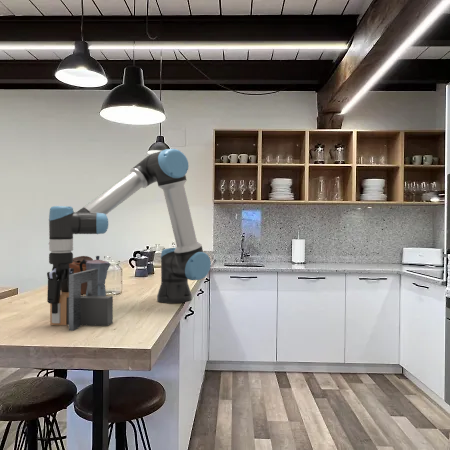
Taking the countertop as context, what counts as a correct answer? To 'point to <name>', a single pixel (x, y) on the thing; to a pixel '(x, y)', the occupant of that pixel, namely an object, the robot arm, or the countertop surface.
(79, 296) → the grey arch
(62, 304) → the plug
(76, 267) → the case
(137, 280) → the countertop surface
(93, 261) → the moka pot
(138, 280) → the countertop surface
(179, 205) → the robot arm
